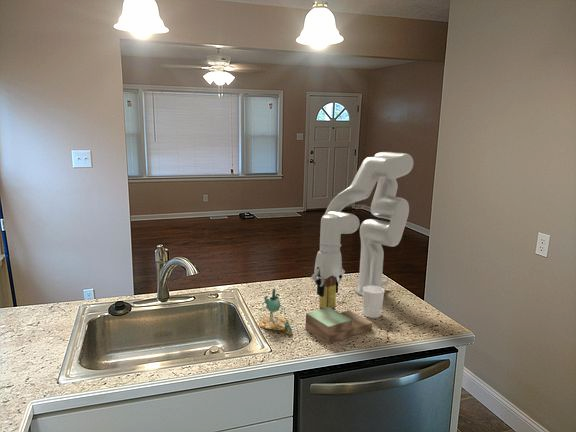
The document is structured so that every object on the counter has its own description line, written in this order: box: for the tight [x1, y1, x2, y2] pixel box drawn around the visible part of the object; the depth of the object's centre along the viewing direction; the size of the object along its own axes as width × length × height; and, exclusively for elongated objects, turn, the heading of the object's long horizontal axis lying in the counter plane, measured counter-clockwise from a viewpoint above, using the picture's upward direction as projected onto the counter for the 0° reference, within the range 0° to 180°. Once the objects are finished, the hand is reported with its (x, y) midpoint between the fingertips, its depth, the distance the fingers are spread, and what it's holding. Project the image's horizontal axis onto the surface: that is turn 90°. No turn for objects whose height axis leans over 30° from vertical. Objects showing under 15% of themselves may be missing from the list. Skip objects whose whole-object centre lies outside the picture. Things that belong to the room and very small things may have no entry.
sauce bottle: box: [318, 276, 337, 311], centre depth 162 cm, size 6×6×20 cm
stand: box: [304, 307, 374, 345], centre depth 147 cm, size 20×12×6 cm, turn 125°
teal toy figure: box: [258, 288, 294, 336], centre depth 148 cm, size 10×18×15 cm, turn 29°
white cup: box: [362, 286, 385, 319], centre depth 160 cm, size 8×8×10 cm
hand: (327, 293), depth 163 cm, fingers closed on sauce bottle, 6 cm apart
